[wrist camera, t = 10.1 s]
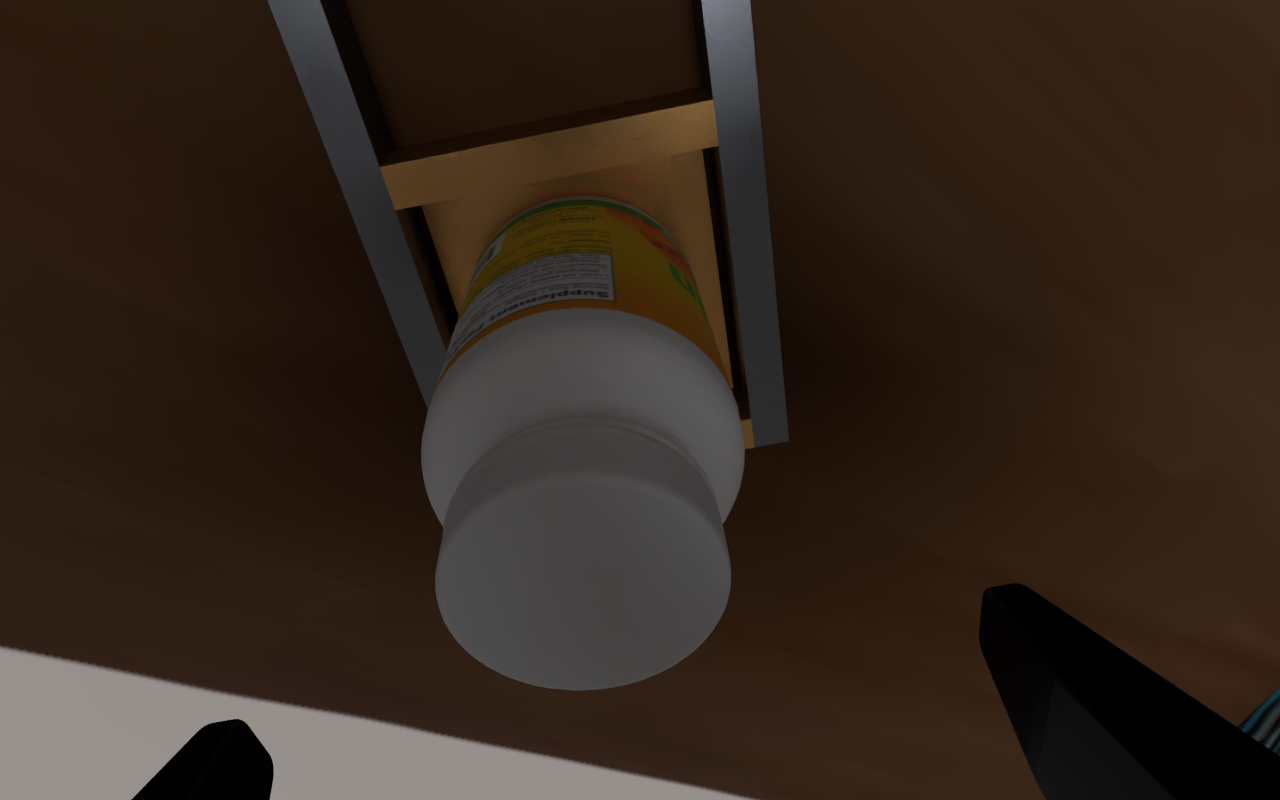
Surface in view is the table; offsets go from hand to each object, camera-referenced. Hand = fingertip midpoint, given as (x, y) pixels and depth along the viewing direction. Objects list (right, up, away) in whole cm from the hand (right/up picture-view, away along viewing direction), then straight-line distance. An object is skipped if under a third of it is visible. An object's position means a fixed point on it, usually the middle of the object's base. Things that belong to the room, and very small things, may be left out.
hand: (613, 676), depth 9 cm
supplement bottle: (-1, +6, +9) cm, 11 cm away
